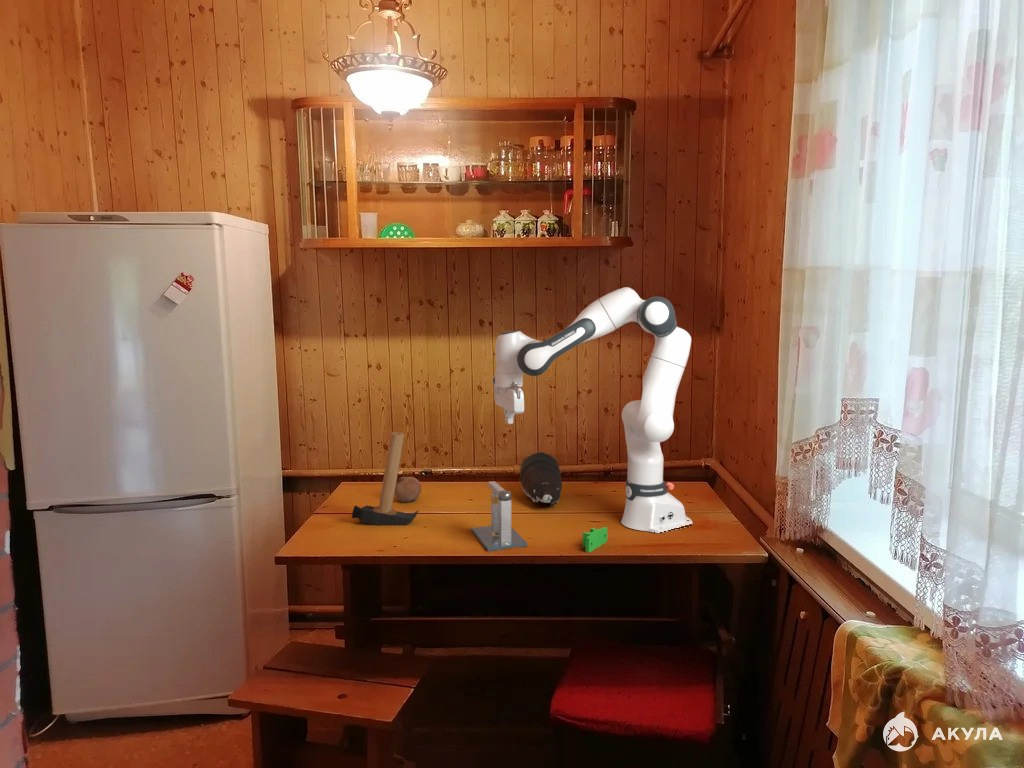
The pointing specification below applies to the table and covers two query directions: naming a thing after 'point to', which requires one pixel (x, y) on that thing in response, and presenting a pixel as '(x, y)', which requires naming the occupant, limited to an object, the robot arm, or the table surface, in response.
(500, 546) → the bolt hole plate
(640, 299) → the robot arm
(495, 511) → the post
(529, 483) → the dark brown oval body
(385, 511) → the hammer
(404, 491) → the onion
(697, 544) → the table surface
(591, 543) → the pipe clamp
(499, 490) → the grey metal upright piece
